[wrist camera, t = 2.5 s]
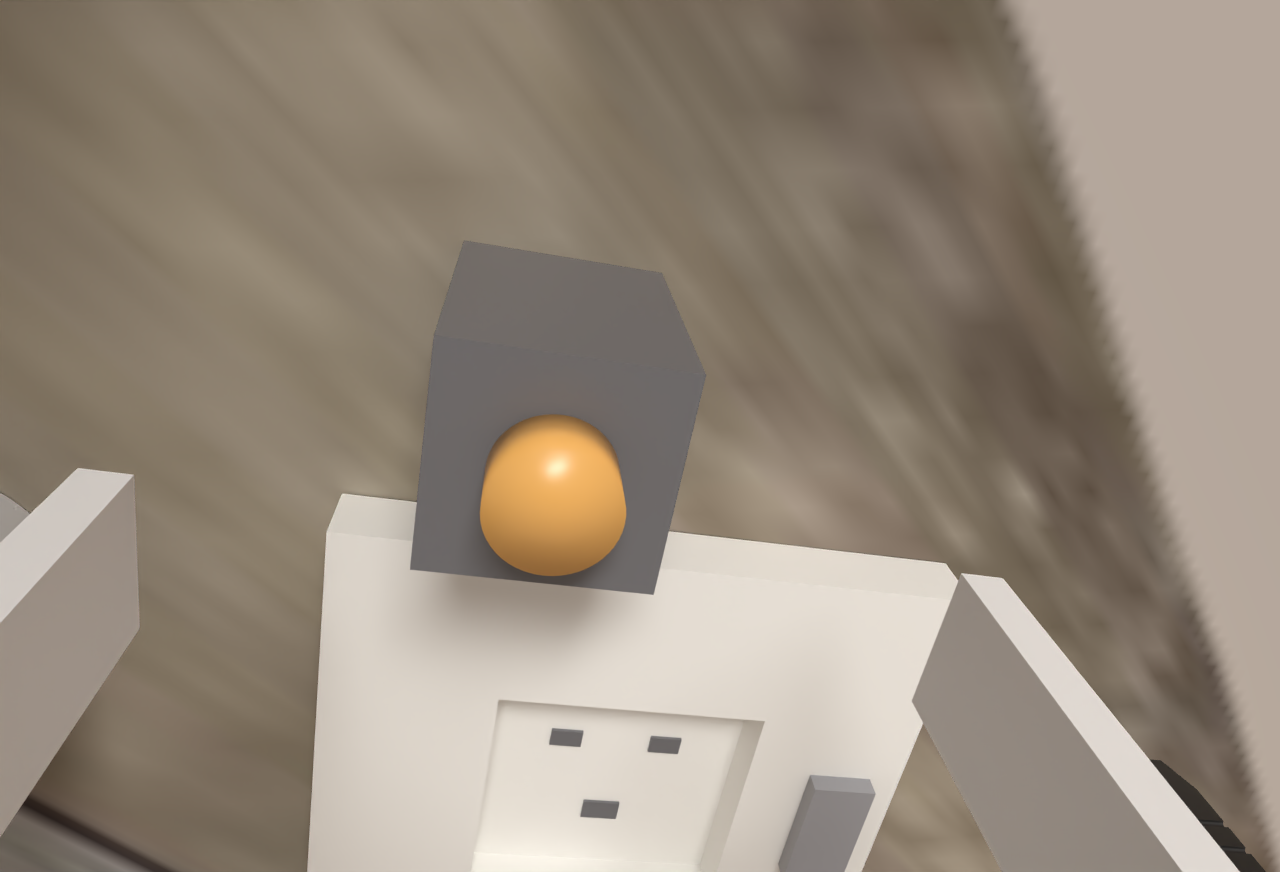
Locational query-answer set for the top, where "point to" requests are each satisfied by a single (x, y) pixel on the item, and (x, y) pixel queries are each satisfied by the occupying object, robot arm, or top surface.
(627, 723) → the socket plate
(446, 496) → the plug
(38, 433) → the top surface
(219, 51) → the top surface
